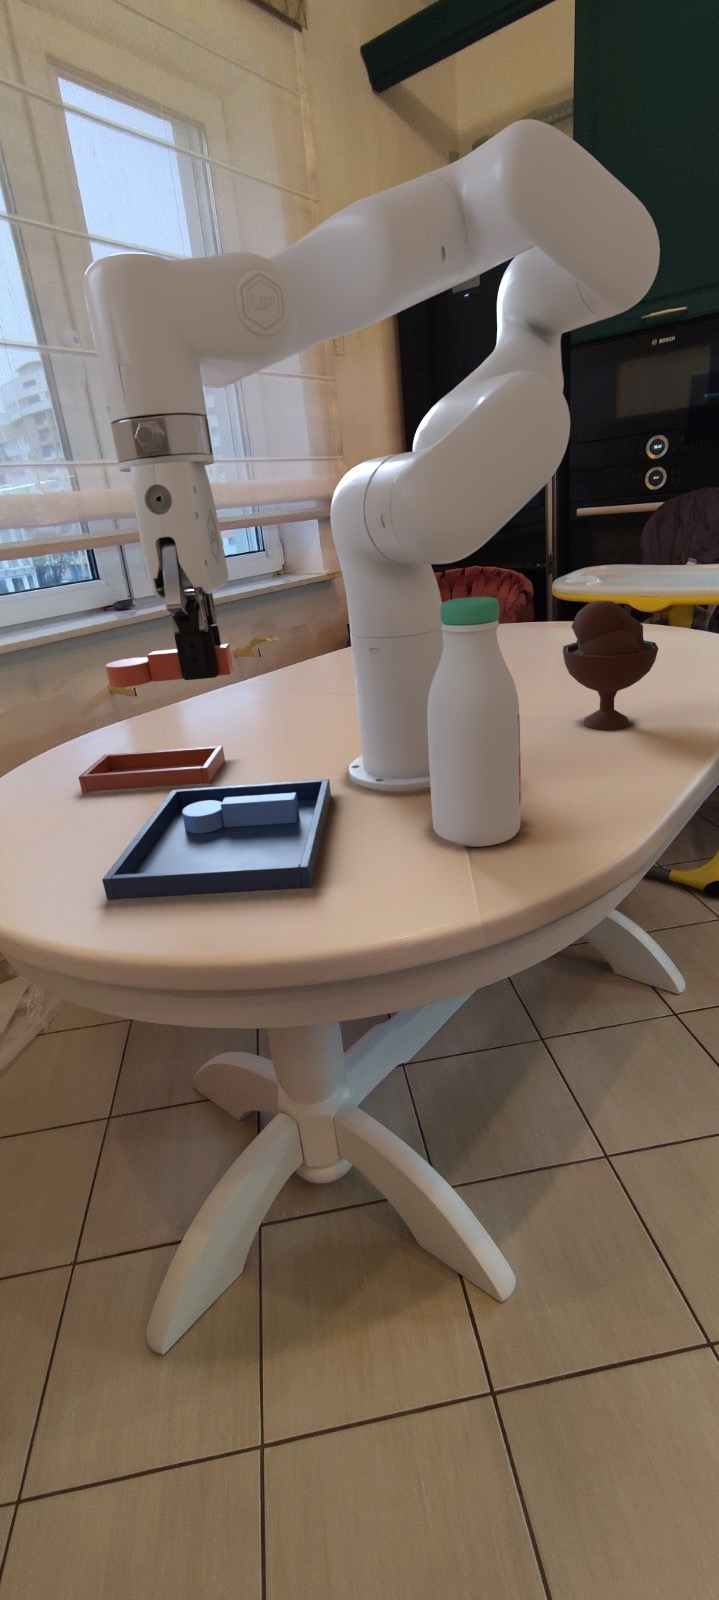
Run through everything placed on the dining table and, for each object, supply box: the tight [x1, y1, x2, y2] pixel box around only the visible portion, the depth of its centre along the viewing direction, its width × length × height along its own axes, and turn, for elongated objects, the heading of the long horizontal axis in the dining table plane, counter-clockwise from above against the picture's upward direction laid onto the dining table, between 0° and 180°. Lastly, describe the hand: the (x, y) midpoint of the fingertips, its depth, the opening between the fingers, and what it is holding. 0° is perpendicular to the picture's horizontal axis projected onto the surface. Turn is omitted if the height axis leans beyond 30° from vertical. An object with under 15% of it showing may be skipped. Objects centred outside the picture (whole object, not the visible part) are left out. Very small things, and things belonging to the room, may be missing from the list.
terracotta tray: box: [78, 745, 226, 795], centre depth 85 cm, size 15×8×2 cm, turn 88°
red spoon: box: [104, 643, 234, 688], centre depth 64 cm, size 11×4×2 cm, turn 90°
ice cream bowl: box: [562, 600, 659, 731], centre depth 87 cm, size 11×11×15 cm
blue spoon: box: [182, 793, 299, 834], centre depth 69 cm, size 11×4×2 cm, turn 88°
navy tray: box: [101, 778, 332, 901], centre depth 66 cm, size 16×19×2 cm
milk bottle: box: [427, 596, 522, 848], centre depth 61 cm, size 8×8×20 cm
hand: (204, 673), depth 65 cm, fingers closed on red spoon, 2 cm apart
